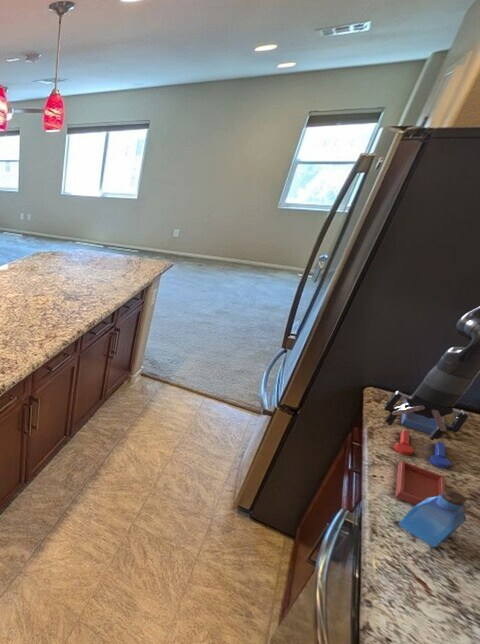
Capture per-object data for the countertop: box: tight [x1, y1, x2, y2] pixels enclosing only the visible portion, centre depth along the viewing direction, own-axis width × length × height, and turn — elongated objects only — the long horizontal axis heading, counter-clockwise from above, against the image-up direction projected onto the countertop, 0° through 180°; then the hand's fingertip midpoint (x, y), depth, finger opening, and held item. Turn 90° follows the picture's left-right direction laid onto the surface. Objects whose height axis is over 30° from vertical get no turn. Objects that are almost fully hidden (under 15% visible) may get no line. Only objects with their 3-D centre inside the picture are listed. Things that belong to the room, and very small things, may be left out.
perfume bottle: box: [397, 489, 468, 548], centre depth 84 cm, size 6×6×12 cm
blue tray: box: [400, 399, 438, 435], centre depth 119 cm, size 14×8×2 cm, turn 134°
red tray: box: [395, 460, 446, 506], centre depth 97 cm, size 14×8×2 cm, turn 134°
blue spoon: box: [429, 441, 452, 469], centre depth 106 cm, size 11×4×2 cm, turn 135°
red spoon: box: [393, 429, 415, 456], centre depth 110 cm, size 11×4×2 cm, turn 135°
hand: (409, 430), depth 110 cm, fingers open, 8 cm apart
